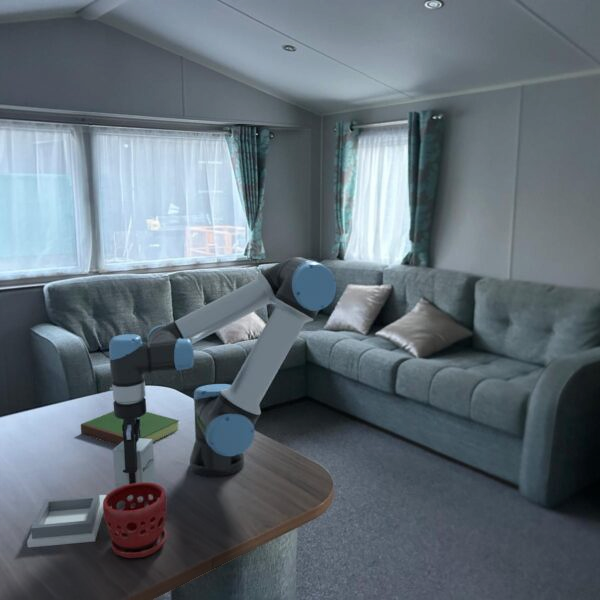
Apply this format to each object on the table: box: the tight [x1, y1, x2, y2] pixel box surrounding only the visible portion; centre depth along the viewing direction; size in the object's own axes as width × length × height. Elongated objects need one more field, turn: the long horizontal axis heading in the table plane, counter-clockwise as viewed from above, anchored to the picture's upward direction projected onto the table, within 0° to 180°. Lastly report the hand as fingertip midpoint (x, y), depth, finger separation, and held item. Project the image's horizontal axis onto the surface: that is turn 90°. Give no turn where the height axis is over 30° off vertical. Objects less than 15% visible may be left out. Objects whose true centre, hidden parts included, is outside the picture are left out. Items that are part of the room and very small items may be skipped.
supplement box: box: [112, 438, 156, 500], centre depth 147 cm, size 7×7×13 cm
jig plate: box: [26, 494, 107, 548], centre depth 139 cm, size 14×18×4 cm
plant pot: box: [103, 482, 168, 559], centre depth 129 cm, size 13×13×12 cm
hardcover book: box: [80, 410, 180, 446], centre depth 191 cm, size 25×19×4 cm
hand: (135, 485), depth 148 cm, fingers closed on supplement box, 9 cm apart
